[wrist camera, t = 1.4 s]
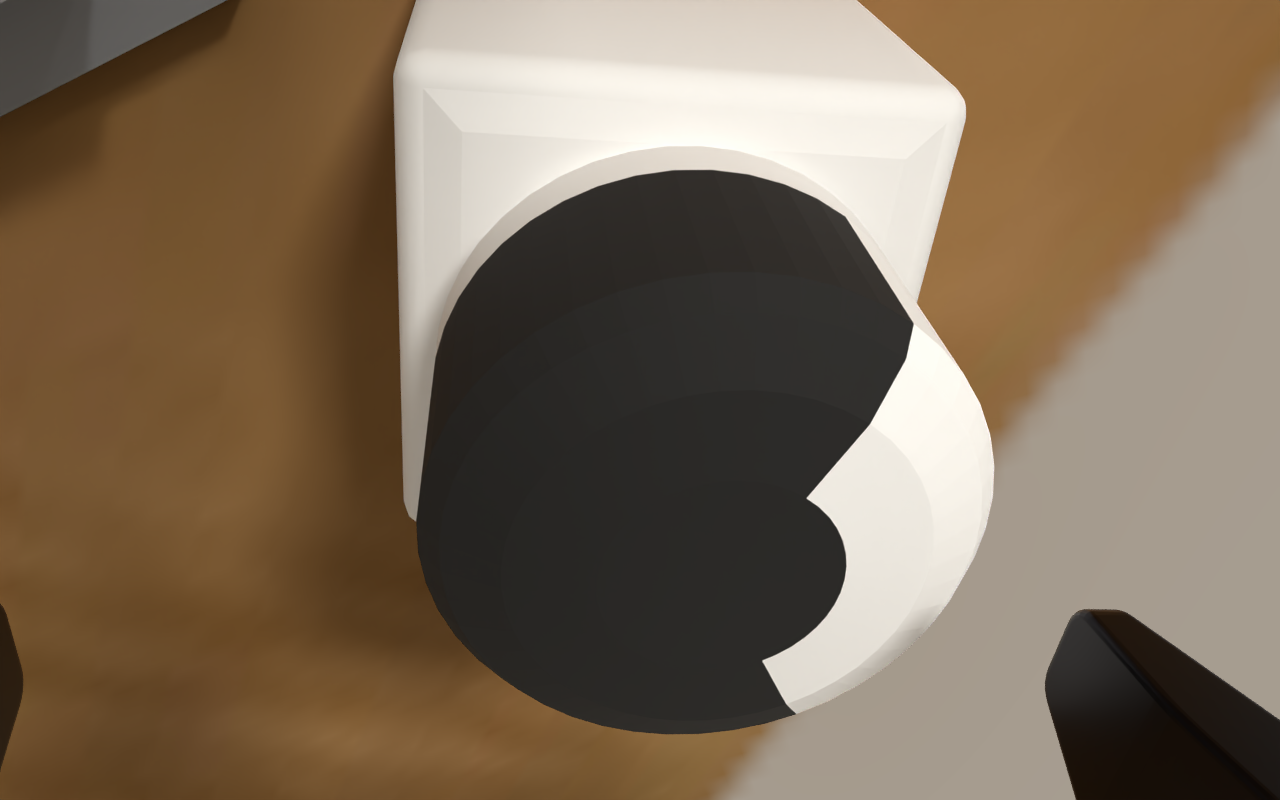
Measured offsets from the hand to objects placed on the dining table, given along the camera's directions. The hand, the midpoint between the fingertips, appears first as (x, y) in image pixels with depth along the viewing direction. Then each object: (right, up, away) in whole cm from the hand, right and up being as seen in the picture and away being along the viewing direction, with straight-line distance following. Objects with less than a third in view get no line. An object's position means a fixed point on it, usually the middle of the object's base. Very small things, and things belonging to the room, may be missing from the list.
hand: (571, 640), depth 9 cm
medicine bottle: (0, +7, +12) cm, 14 cm away
